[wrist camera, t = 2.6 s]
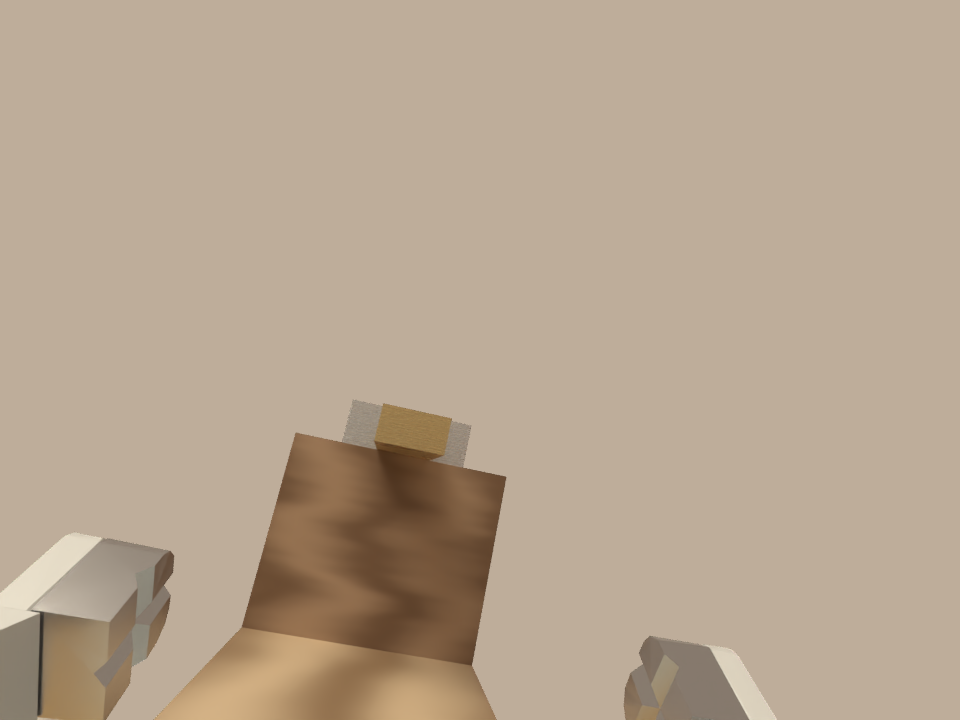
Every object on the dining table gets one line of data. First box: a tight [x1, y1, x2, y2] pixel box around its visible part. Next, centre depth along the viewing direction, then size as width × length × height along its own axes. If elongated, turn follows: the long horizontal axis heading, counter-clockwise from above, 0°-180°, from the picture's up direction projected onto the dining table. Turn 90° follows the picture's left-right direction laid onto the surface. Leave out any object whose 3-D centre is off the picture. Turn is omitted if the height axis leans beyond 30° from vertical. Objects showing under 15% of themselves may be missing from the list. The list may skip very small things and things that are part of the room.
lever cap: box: [342, 400, 471, 468], centre depth 31 cm, size 7×16×2 cm, turn 10°
